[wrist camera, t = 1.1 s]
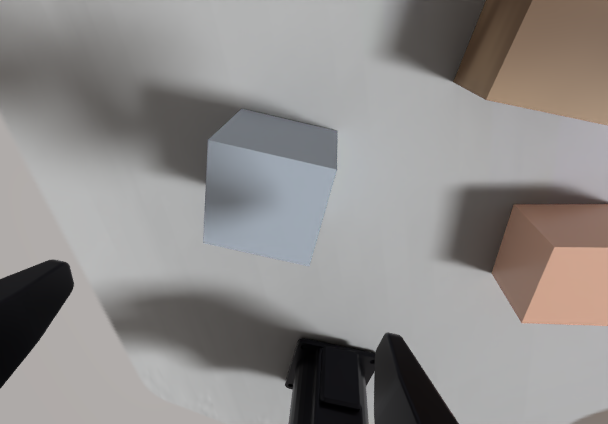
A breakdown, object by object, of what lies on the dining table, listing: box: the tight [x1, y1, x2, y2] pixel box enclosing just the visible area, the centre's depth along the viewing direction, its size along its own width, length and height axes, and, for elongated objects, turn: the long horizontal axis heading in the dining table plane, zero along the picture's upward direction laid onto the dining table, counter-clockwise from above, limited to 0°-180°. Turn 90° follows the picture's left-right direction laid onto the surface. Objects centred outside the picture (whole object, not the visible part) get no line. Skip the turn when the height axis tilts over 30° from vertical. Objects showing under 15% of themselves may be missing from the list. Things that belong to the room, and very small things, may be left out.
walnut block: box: [453, 0, 608, 125], centre depth 12 cm, size 6×6×4 cm
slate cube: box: [203, 109, 337, 266], centre depth 16 cm, size 5×5×5 cm
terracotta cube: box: [492, 204, 608, 326], centre depth 17 cm, size 5×5×4 cm
